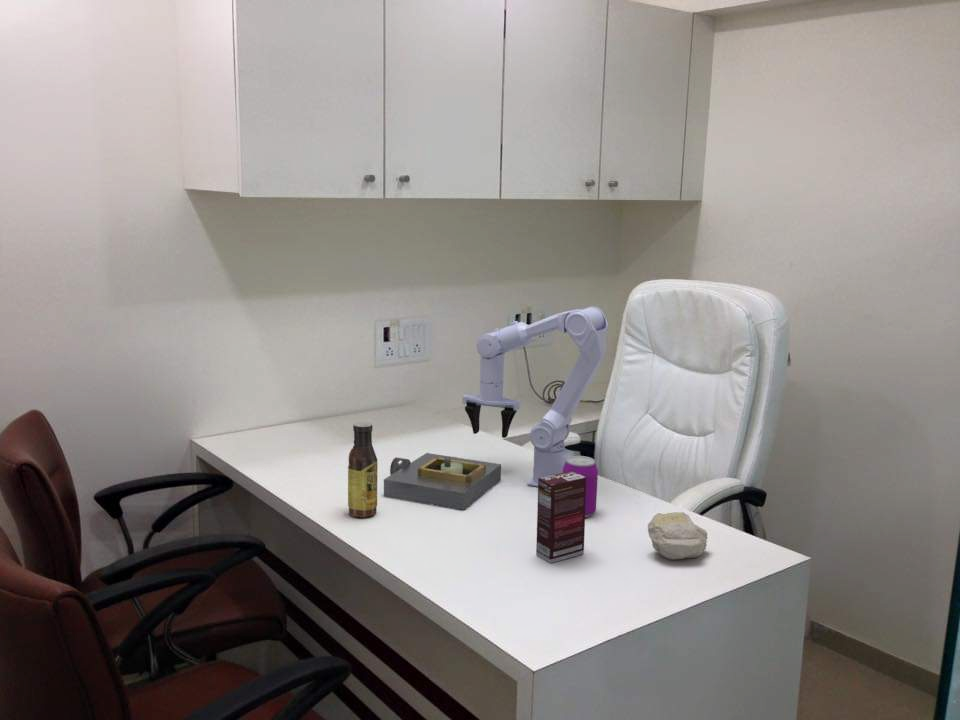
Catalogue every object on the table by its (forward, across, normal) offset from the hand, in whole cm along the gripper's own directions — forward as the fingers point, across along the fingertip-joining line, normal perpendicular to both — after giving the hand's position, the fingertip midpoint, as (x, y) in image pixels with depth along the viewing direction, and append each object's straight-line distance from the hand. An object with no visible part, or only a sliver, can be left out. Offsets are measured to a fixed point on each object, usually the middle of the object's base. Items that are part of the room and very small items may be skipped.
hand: (490, 434), depth 214 cm
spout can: (+10, +3, +16) cm, 19 cm away
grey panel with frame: (+9, +6, +16) cm, 20 cm away
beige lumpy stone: (+10, -52, +30) cm, 61 cm away
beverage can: (+10, -28, +17) cm, 34 cm away
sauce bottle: (+10, +14, +38) cm, 42 cm away
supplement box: (+10, -31, +40) cm, 52 cm away
